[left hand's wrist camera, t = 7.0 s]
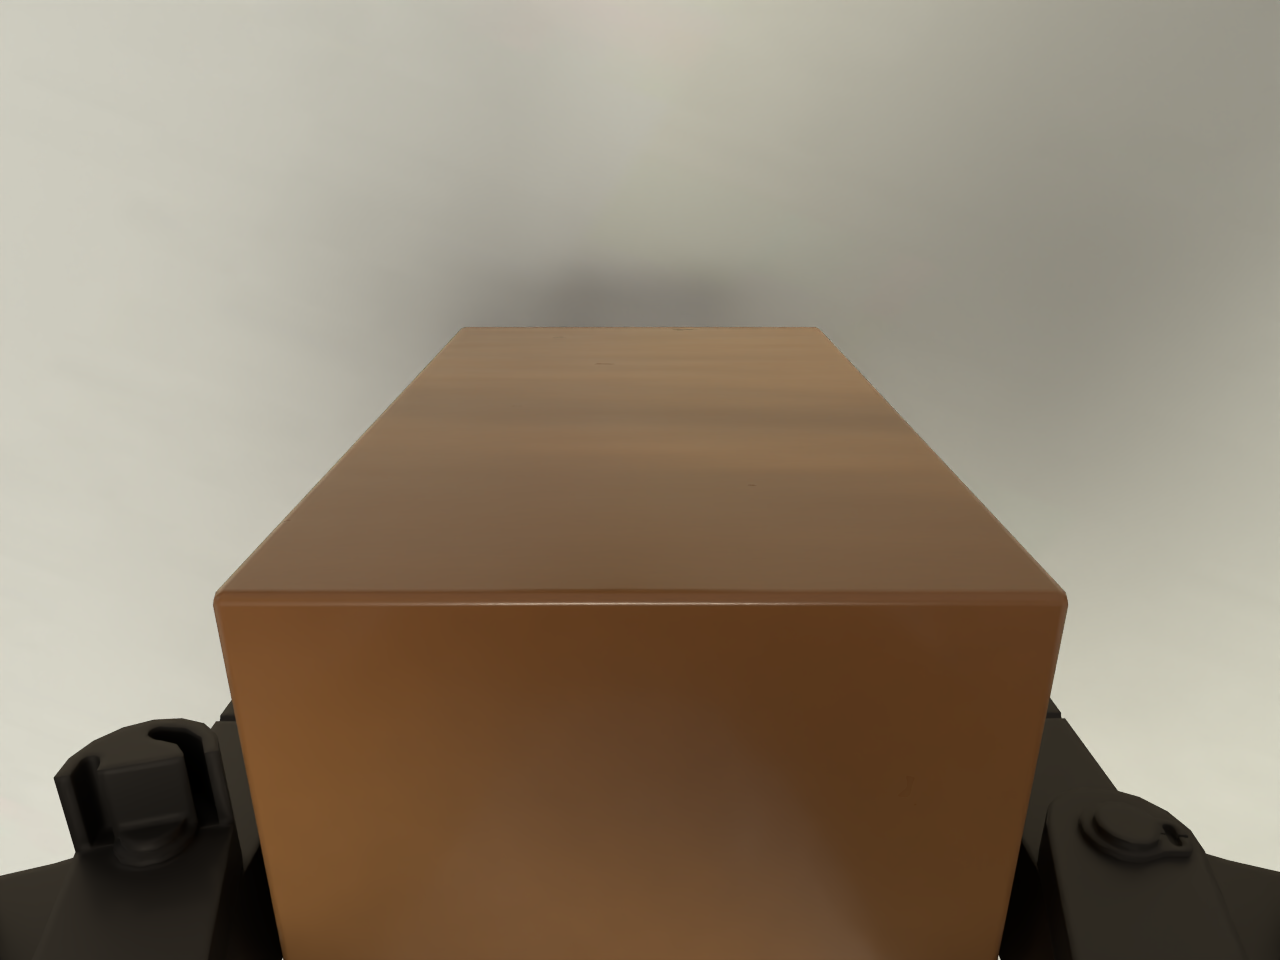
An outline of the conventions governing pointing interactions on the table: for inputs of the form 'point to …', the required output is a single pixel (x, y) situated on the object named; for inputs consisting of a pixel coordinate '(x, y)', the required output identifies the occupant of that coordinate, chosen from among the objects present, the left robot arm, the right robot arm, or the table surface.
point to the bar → (640, 666)
